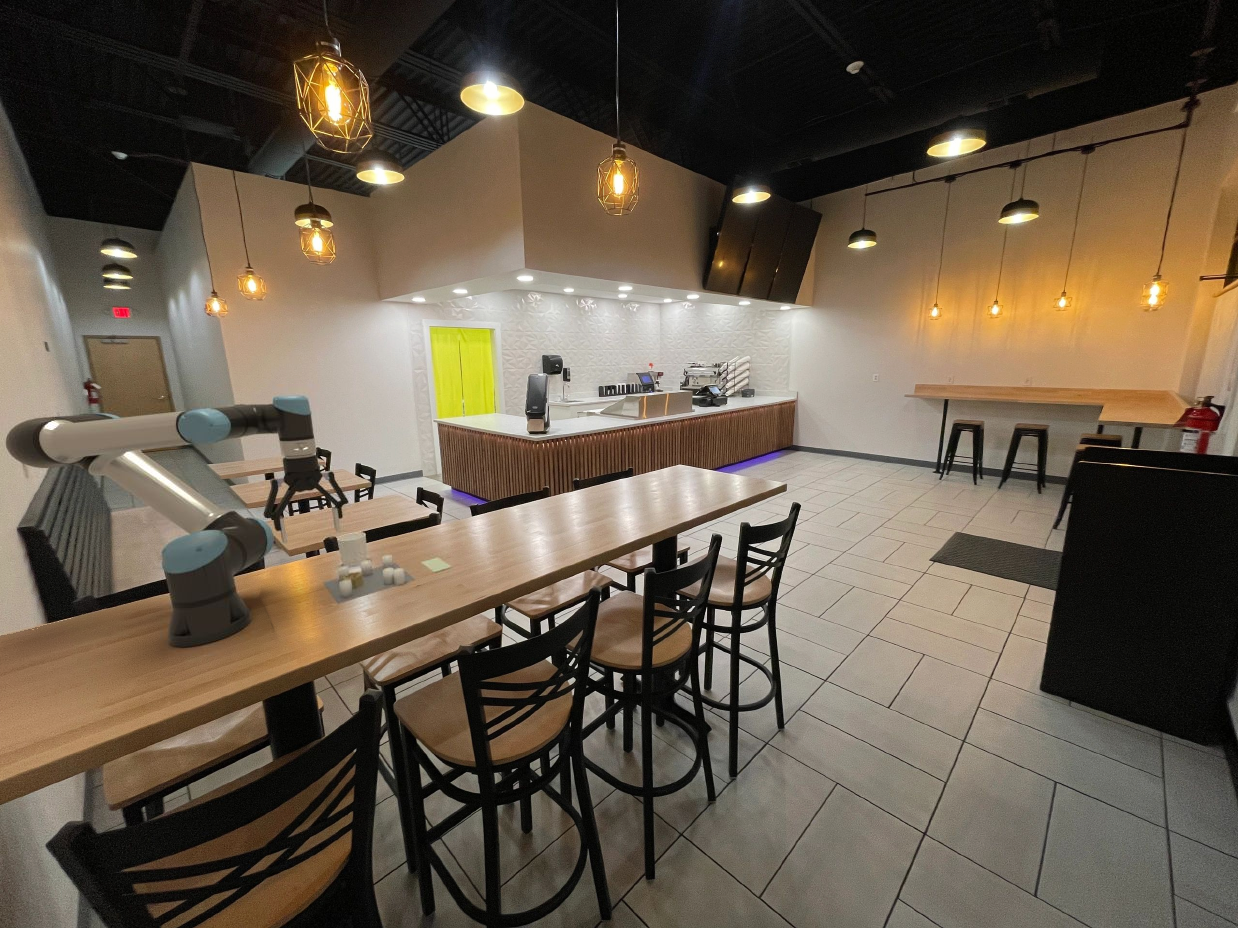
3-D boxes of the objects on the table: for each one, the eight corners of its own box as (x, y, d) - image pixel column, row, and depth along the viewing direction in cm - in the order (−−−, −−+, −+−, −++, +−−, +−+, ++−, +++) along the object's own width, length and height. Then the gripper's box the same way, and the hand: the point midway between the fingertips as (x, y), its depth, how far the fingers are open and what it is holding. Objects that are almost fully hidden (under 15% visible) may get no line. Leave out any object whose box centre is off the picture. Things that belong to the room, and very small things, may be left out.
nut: (347, 590, 130) (346, 580, 130) (342, 585, 134) (341, 575, 133) (364, 585, 133) (363, 575, 133) (359, 580, 137) (358, 570, 136)
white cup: (348, 572, 146) (343, 542, 144) (337, 567, 150) (332, 537, 148) (373, 564, 152) (370, 534, 150) (362, 559, 156) (358, 530, 154)
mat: (412, 579, 139) (412, 578, 139) (400, 568, 147) (399, 568, 147) (451, 567, 147) (451, 566, 147) (437, 558, 155) (437, 557, 155)
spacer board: (338, 608, 123) (336, 589, 122) (323, 586, 136) (320, 569, 135) (416, 583, 136) (414, 567, 135) (395, 566, 150) (393, 550, 149)
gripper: (243, 464, 110) (258, 551, 115) (354, 451, 126) (364, 528, 131) (239, 460, 116) (254, 544, 120) (347, 448, 132) (357, 522, 136)
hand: (312, 536), depth 125 cm, fingers open, 11 cm apart
